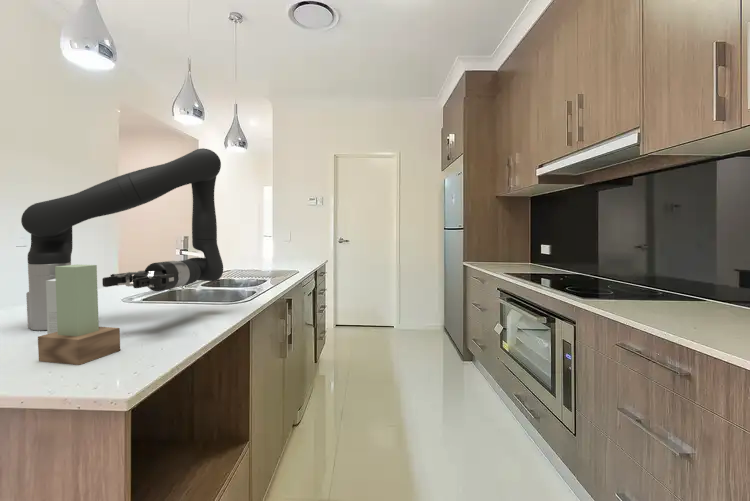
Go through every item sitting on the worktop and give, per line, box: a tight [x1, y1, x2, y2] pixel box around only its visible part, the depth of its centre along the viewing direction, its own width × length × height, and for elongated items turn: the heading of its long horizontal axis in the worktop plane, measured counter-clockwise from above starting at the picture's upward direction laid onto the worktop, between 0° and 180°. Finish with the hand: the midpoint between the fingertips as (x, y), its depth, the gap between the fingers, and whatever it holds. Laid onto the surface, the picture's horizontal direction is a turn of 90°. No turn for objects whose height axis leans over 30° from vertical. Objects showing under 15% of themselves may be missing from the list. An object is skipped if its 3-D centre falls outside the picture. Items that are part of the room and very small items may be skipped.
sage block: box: [55, 264, 100, 336], centre depth 89 cm, size 5×5×14 cm
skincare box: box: [46, 279, 58, 334], centre depth 104 cm, size 8×6×15 cm
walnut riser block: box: [37, 326, 121, 366], centre depth 90 cm, size 10×10×5 cm
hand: (119, 283), depth 100 cm, fingers open, 8 cm apart
